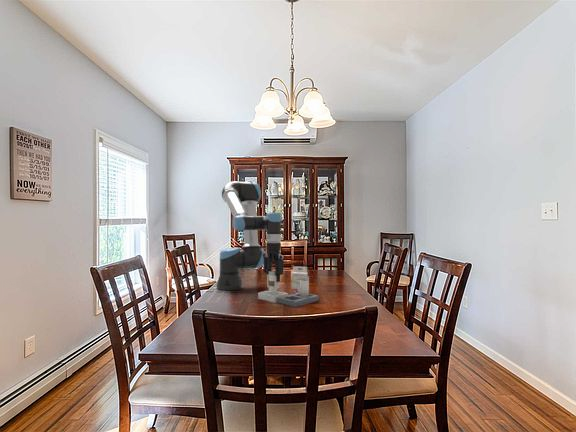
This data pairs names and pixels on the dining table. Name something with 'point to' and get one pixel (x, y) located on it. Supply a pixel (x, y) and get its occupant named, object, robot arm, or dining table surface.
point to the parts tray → (270, 296)
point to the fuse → (304, 286)
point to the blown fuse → (272, 283)
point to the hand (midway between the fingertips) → (273, 287)
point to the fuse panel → (297, 299)
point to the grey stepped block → (297, 278)
